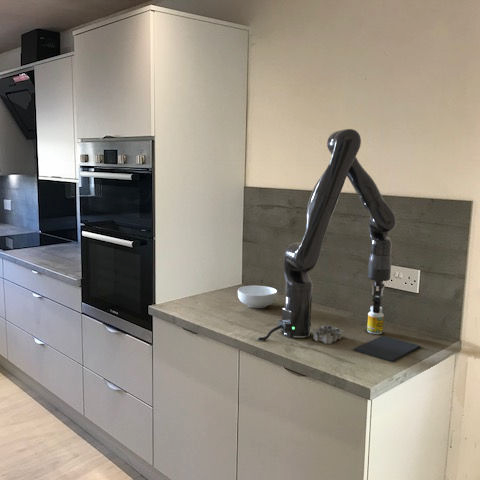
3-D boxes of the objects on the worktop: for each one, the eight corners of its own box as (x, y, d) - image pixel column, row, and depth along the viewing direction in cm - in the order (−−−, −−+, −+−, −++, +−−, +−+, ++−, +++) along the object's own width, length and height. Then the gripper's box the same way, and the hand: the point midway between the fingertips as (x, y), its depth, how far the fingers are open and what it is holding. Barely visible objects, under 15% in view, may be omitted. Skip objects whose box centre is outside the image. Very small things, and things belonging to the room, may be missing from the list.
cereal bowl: (248, 298, 238) (248, 283, 237) (282, 304, 228) (283, 288, 227) (230, 306, 224) (230, 290, 223) (266, 313, 215) (267, 297, 214)
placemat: (392, 361, 166) (392, 360, 166) (354, 350, 175) (354, 348, 175) (420, 347, 179) (420, 345, 178) (383, 337, 188) (383, 335, 188)
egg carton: (328, 345, 180) (329, 333, 179) (309, 339, 185) (310, 328, 185) (344, 338, 187) (345, 327, 186) (325, 332, 192) (326, 322, 192)
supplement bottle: (372, 328, 197) (374, 304, 196) (385, 333, 193) (387, 307, 191) (363, 331, 194) (365, 306, 193) (376, 335, 190) (378, 310, 188)
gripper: (369, 261, 198) (367, 303, 200) (367, 269, 185) (364, 313, 188) (391, 263, 195) (388, 305, 197) (390, 271, 182) (387, 316, 184)
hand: (376, 309), depth 192 cm, fingers open, 8 cm apart
